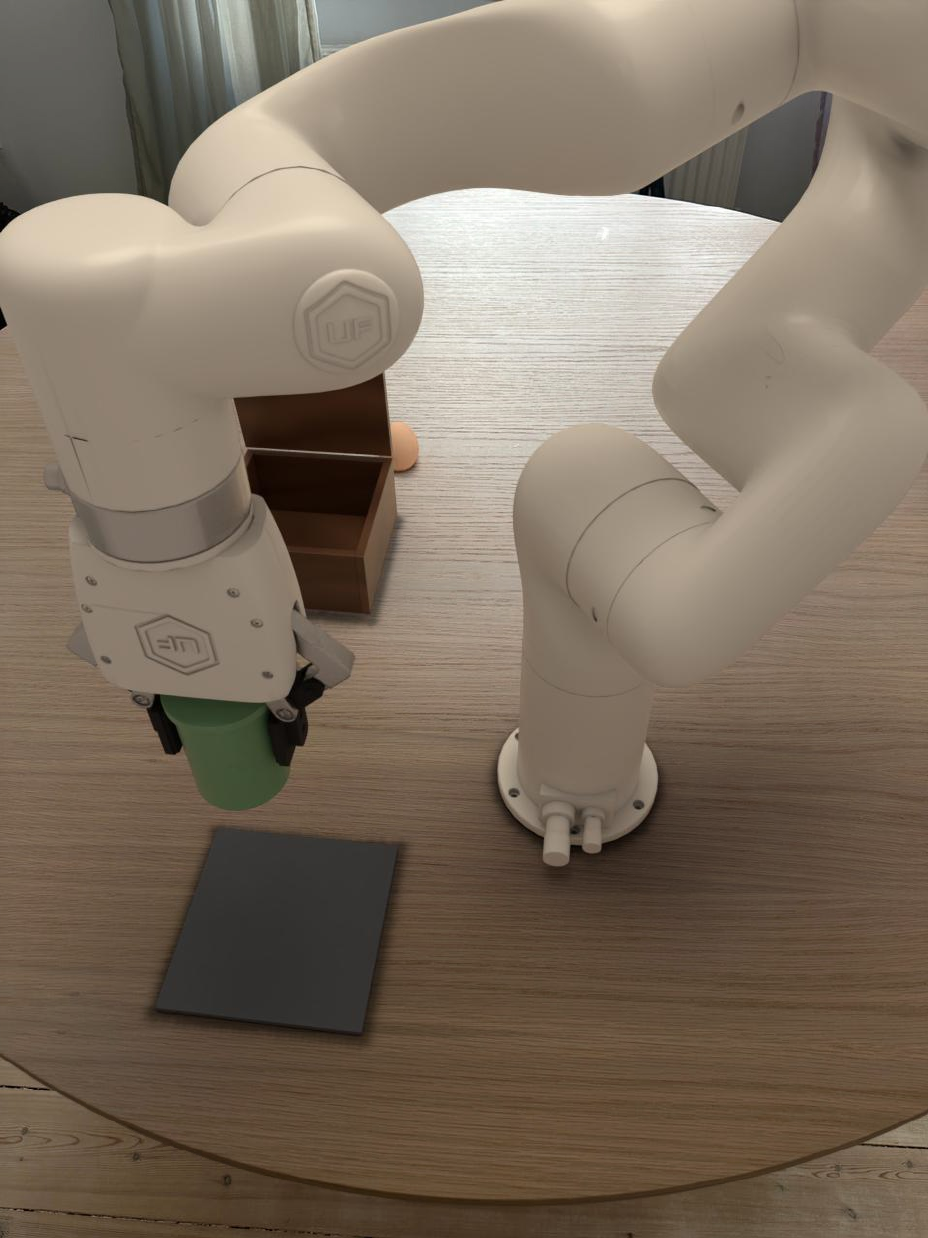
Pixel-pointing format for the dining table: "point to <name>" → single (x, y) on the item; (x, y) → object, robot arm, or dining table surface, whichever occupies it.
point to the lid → (320, 420)
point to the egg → (403, 446)
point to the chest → (329, 521)
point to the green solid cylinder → (228, 750)
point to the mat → (282, 932)
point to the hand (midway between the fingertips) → (234, 738)
